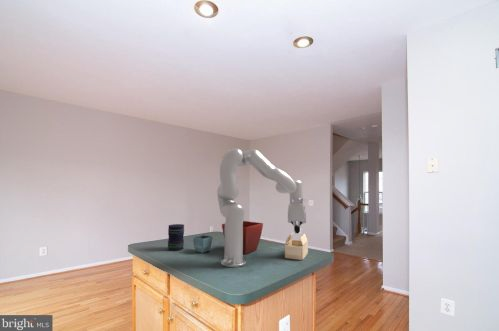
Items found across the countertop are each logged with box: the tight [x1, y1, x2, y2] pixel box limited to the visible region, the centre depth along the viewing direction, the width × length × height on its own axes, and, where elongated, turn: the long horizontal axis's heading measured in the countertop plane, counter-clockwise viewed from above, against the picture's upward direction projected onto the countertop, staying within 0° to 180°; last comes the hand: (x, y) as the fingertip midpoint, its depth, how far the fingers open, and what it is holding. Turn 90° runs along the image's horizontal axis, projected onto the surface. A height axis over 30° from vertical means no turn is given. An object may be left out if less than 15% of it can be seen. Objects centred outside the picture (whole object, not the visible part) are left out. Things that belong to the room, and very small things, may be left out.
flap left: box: [284, 232, 294, 245], centre depth 144 cm, size 14×4×1 cm
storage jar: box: [167, 223, 185, 252], centre depth 156 cm, size 10×10×15 cm
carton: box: [284, 239, 309, 261], centre depth 142 cm, size 17×10×7 cm, turn 157°
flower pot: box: [192, 234, 213, 254], centre depth 150 cm, size 9×9×9 cm
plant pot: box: [221, 220, 264, 255], centre depth 152 cm, size 19×19×17 cm
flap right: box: [299, 233, 308, 246], centre depth 141 cm, size 14×4×1 cm
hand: (297, 232), depth 143 cm, fingers closed
